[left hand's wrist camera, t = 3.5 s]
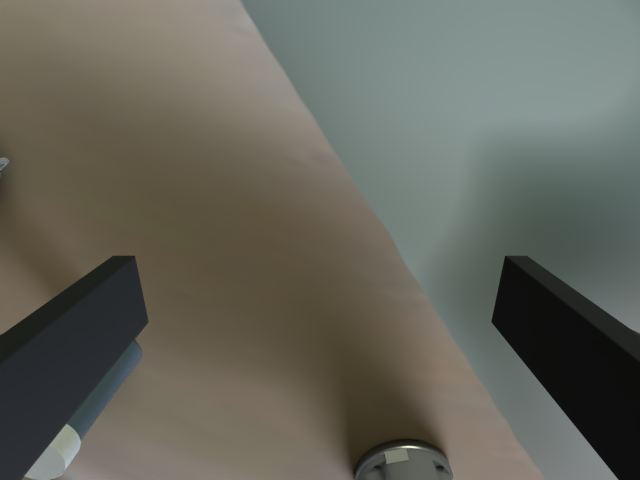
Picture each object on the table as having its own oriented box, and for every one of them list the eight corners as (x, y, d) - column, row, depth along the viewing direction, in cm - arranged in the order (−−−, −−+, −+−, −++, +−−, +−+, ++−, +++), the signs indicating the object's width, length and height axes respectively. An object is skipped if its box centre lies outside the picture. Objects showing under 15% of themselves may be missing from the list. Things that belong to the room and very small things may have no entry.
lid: (41, 408, 33) (21, 428, 31) (91, 438, 35) (77, 460, 33) (12, 438, 35) (-8, 459, 33) (62, 466, 36) (46, 488, 34)
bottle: (118, 329, 46) (27, 428, 32) (148, 350, 48) (74, 455, 33) (98, 350, 48) (2, 455, 33) (128, 370, 49) (48, 480, 34)
